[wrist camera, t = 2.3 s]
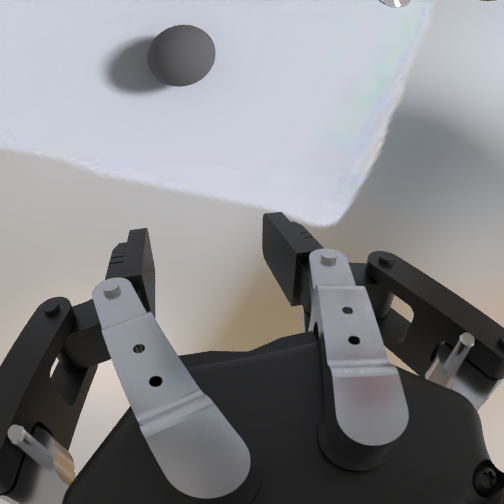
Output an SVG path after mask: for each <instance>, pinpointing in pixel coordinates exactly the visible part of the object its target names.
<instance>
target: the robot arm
mask: <svg viewBox="0 0 504 504" xmlns="http://www.w3.org/2000/svg"><path fill="white" fill-rule="evenodd" d="M262 241H263V242H262V249H263V255H264V259H265V261H266V263H267V264H268V266H269V268H270V270H271V271H272V273H273V275H274V277H275V278H276V280H277V282H278V284H279V285H280V287H281V289H282V291H283V292H284V294H285V296H286V297H287V299H288V301H289V303H290V305H291V306H297V305H302V306H303V313H302V323H303V333H300V334H296V335H291V336H287V337H282V338H279V339H277V340H275V341H273V342H270V343H268V344H266V345H263V346H261V347H259V348H257V349H254V350H252V351H248V352H230V351H208V352H202V353H195V354H189V355H182V356H178V355H177V354H176V352H175V351H174V349H173V347H172V346H171V344H170V343H169V341H168V339H167V338H166V336H165V335H164V333H163V331H162V330H161V328H160V326H159V325H158V323H157V321H156V320H155V268H154V261H153V256H152V251H151V245H150V239H149V233H148V229H147V228H142V229H135V230H130V232H129V236H128V241H127V242H125V243H119V244H118V245H117V246H116V247H115V248H114V249H113V251H112V255H111V259H110V262H109V266H108V270H107V274H106V278H105V281H103V282H101V283H99V284H98V285H97V286H96V287H95V288H94V290H93V292H92V297H93V299H91V300H89V301H87V302H84V303H82V304H79V305H76V306H73V307H72V306H71V303H70V301H69V300H68V299H67V298H64V297H54V298H51V299H48V300H46V301H45V302H43V303H42V304H41V305H40V306H39V307H38V308H37V310H36V311H35V312H34V314H33V315H32V317H31V318H30V320H29V321H28V323H27V324H26V326H25V327H24V329H23V330H22V332H21V333H20V335H19V337H18V338H17V340H16V341H15V343H14V344H13V346H12V348H11V349H10V351H9V353H8V354H7V356H6V358H5V359H4V361H3V363H2V365H1V366H0V498H1V499H3V500H5V501H7V502H9V503H10V504H504V473H503V472H501V471H499V470H498V469H497V468H496V467H495V466H494V464H493V463H492V461H491V459H490V457H489V454H488V452H487V449H486V445H485V442H484V437H483V431H482V425H481V420H480V417H479V414H478V412H477V411H478V409H479V408H480V406H482V404H483V403H484V402H485V401H486V400H487V399H488V397H489V396H490V395H491V394H492V393H493V392H494V390H495V389H496V388H497V387H498V385H499V384H500V382H501V381H502V380H503V379H504V328H503V327H502V326H500V325H499V324H498V323H496V322H495V321H494V320H492V319H491V318H489V317H488V316H487V315H485V314H484V313H482V312H481V311H480V310H478V309H477V308H475V307H474V306H472V305H471V304H469V303H468V302H467V301H465V300H464V299H462V298H461V297H459V296H458V295H456V294H455V293H454V292H452V291H451V290H449V289H447V288H446V287H444V286H443V285H441V284H440V283H438V282H437V281H435V280H434V279H432V278H431V277H429V276H428V275H426V274H425V273H423V272H421V271H420V270H418V269H417V268H415V267H413V266H412V265H410V264H409V263H407V262H406V261H404V260H402V259H401V258H399V257H397V256H396V255H394V254H392V253H388V252H384V251H376V252H372V253H370V254H369V256H368V260H367V263H366V264H365V263H348V260H347V258H346V256H345V255H344V254H342V253H341V252H339V251H336V250H332V249H324V248H323V247H322V246H321V245H320V244H319V242H317V240H316V239H315V238H313V236H312V235H311V234H310V233H308V231H307V230H306V229H305V228H304V226H302V225H300V224H298V223H296V222H290V221H289V220H288V219H287V218H286V216H285V215H284V214H283V213H282V212H276V213H266V214H264V215H263V239H262ZM394 295H396V296H397V297H399V298H400V299H401V300H403V301H404V302H405V303H407V304H408V305H410V307H411V308H412V310H413V312H414V318H413V321H412V323H410V322H409V321H408V320H407V319H405V318H404V317H403V316H401V315H400V314H399V313H397V312H396V311H395V310H393V309H392V308H391V304H392V301H393V298H394ZM384 346H386V347H387V348H388V349H389V350H390V351H391V352H393V353H394V354H395V355H396V356H397V357H398V358H400V359H401V360H402V361H403V362H404V363H405V364H407V365H408V366H409V367H410V368H411V369H412V370H414V371H415V372H416V373H417V374H418V375H419V376H418V375H415V374H413V373H411V372H409V371H406V370H404V369H402V368H399V367H397V366H395V365H392V364H390V363H389V361H388V358H387V354H386V351H385V348H384ZM56 357H57V358H58V360H59V362H58V364H57V366H56V368H55V370H54V372H53V374H52V377H51V378H50V370H51V367H52V365H53V363H54V361H55V359H56ZM109 359H112V362H113V365H114V367H115V370H116V372H117V375H118V377H119V380H120V382H121V385H122V387H123V389H124V392H125V394H126V397H127V399H128V401H129V403H130V405H131V406H130V407H129V409H128V410H127V411H126V413H125V414H124V415H123V417H122V418H121V419H120V420H119V422H118V423H117V424H116V426H115V427H114V428H113V429H112V431H111V432H110V433H109V435H108V436H107V437H106V439H105V440H104V441H103V443H102V444H101V445H100V446H99V448H98V449H97V450H96V452H95V453H94V454H93V455H92V457H91V458H90V460H89V461H88V462H87V463H86V465H85V466H84V467H83V469H82V470H81V471H80V472H79V474H78V475H77V476H76V478H75V472H74V461H73V458H72V456H71V454H70V453H69V452H68V450H69V447H70V444H71V440H72V437H73V434H74V431H75V428H76V425H77V422H78V419H79V416H80V413H81V410H82V408H83V405H84V402H85V399H86V396H87V393H88V391H89V388H90V385H91V383H92V380H93V378H94V375H95V373H96V370H97V367H98V364H99V363H102V362H104V361H107V360H109Z"/></svg>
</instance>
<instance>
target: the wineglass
mask: <svg viewBox="0 0 504 504" xmlns="http://www.w3.org/2000/svg"><path fill="white" fill-rule="evenodd" d="M381 1H382V2H384V3H386V4H387V5H389V6H392V7H396V8H402V7H405V6H407V5H408V4H409V3H410V2H411V0H381ZM481 1H495V0H481Z"/></svg>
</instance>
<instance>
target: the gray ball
mask: <svg viewBox="0 0 504 504" xmlns="http://www.w3.org/2000/svg"><path fill="white" fill-rule="evenodd" d="M214 60H215V47H214V44H213V41H212V39H211V38H210V37H209V35H208V34H207V33H206V32H204V31H203V30H201V29H200V28H197V27H195V26H191V25H178V26H173V27H171V28H168V29H166V30H164V31H163V32H161V33H160V34H159V35H158V36H157V37H156V38H155V39H154V41H153V42H152V44H151V46H150V48H149V52H148V64H149V68H150V70H151V72H152V73H153V75H154V76H155V77H156V78H157V79H158V80H160V81H161V82H163V83H165V84H167V85H171V86H187V85H191V84H193V83H196V82H198V81H199V80H201V79H202V78H203V77H205V76H206V75H207V73H208V72H209V71H210V69H211V68H212V66H213V63H214Z"/></svg>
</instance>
